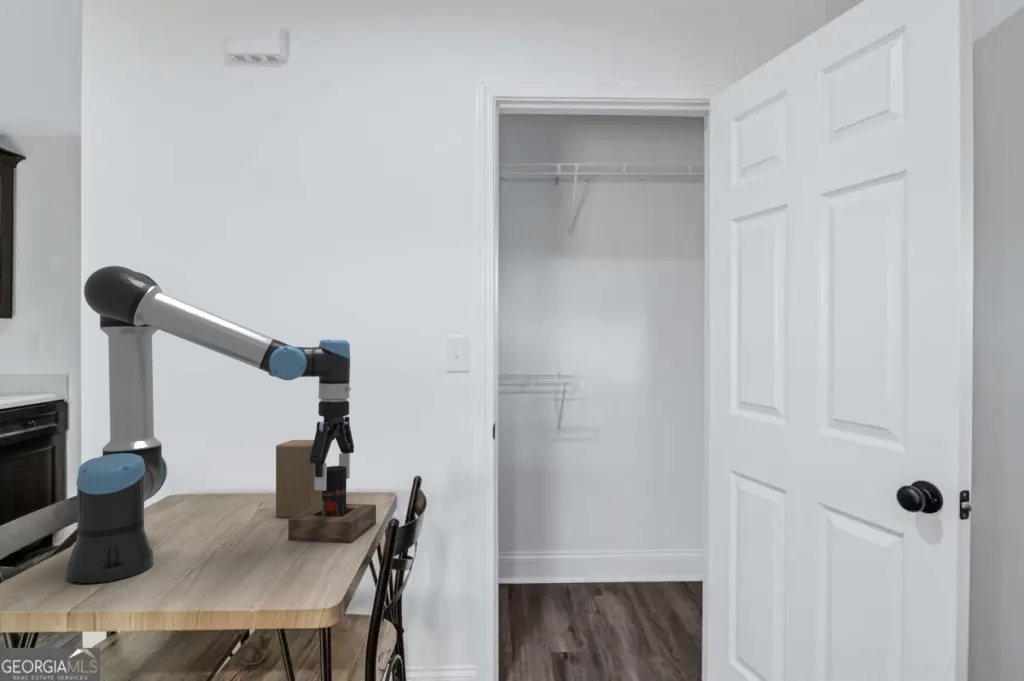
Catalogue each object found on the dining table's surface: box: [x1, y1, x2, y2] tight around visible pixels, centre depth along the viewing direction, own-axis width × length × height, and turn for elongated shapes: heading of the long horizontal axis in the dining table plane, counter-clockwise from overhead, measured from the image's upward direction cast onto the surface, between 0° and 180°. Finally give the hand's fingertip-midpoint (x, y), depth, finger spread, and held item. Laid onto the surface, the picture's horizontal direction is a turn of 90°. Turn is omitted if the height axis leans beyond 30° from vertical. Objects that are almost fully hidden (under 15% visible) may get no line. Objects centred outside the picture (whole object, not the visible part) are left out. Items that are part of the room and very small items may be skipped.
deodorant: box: [322, 465, 347, 517], centre depth 149 cm, size 6×6×15 cm
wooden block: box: [275, 439, 322, 519], centre depth 167 cm, size 10×10×20 cm
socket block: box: [287, 503, 377, 544], centre depth 149 cm, size 16×16×5 cm
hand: (332, 484), depth 149 cm, fingers open, 13 cm apart
